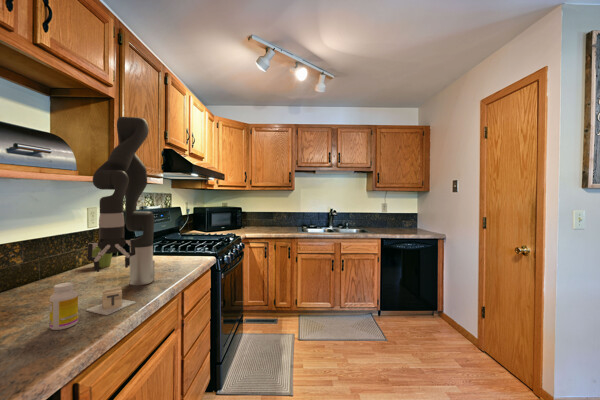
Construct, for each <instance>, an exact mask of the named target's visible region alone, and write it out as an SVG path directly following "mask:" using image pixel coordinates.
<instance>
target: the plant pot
mask: <svg viewBox="0 0 600 400" xmlns="http://www.w3.org/2000/svg"><path fill="white" fill-rule="evenodd" d="M100 250H101V249H100V248H99V247H98V246H96V247H95V249H92V257H95V256H96V255H97V254H98V253H99V251H100ZM112 258H113V253H110V254H106V253H104V255H103V256H102V257H101V258H100V259H99V269H100V268H101V269H103V268H108V267H110V266H111V263H112ZM92 262H93V261H92ZM93 264H94V262H93Z"/></svg>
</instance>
